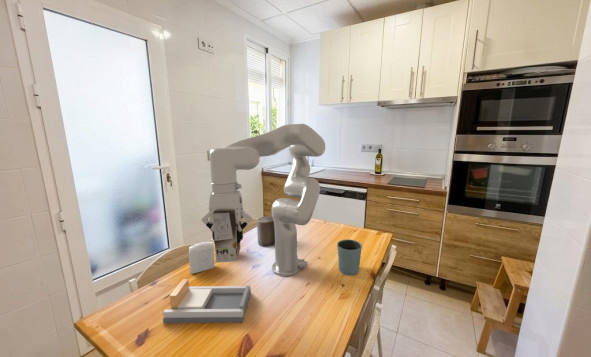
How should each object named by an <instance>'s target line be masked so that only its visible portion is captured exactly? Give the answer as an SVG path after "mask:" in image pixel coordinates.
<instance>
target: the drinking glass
mask: <svg viewBox="0 0 591 357" xmlns="http://www.w3.org/2000/svg"><path fill="white" fill-rule="evenodd" d="M336 246H337V257H338V270H339V272H340V273H341V274H342V275H344V276H350V277H351V276H356V275H358V274H359V273H360V265H361V257H362V256H361V253H362V248H363V245H362V244H361V242H360V241H357V240H354V239H342V240H339V241H337V244H336Z"/></svg>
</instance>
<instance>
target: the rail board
mask: <svg viewBox="0 0 591 357" xmlns="http://www.w3.org/2000/svg"><path fill="white" fill-rule="evenodd" d="M189 289H212V295H211V297H210V299H209V301H208V303H207V304H206V306H205V308H204V309H171V308H170V309H164V311H162V314H163V316H162V317H163V318H162V323H163V324H213V323H214V324H215V323H216V324H218V323H220V324H221V323H222V324H224V323H225V324H227V323H229V324H230V323H231V324H233V323H234V324H235V323H239V324H240V323H243V322H244V320H245V316H246V312H247V309H248V305H249V302H250V298H251V295H252V289H251V285H249V284H248V285H215V286H213V285H212V286H210V285H208V286H207V285H206V286H205V285H204V286H201V285H200V286H195V285H194V286H190V285H189Z"/></svg>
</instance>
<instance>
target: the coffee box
mask: <svg viewBox="0 0 591 357" xmlns="http://www.w3.org/2000/svg"><path fill="white" fill-rule="evenodd" d="M213 224H214V238H215V243H214V250H215V252H214V253H215V263H218V264H219V263H231V262H233V263H235V262H237V259H238V256H239V254H240V251H241V242H240V243H237V231H238V229H237V227H236V221H235V211H214V212H213Z"/></svg>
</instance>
